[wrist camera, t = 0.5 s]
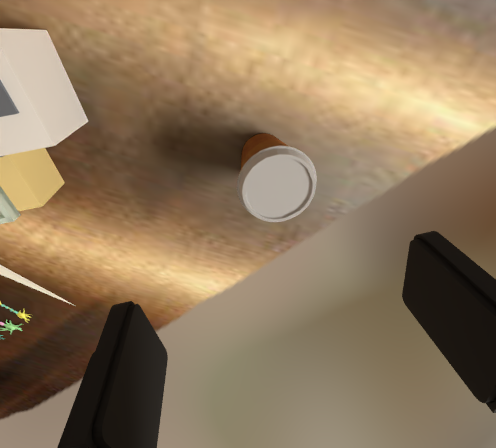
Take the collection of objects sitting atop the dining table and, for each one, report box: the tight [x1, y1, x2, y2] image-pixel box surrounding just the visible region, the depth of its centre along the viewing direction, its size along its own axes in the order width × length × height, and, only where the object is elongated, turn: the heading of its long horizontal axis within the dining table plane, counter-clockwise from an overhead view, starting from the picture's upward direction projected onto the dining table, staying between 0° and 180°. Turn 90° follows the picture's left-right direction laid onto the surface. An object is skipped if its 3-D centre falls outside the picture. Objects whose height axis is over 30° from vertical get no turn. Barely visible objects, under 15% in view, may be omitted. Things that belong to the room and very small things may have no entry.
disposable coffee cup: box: [237, 133, 316, 222], centre depth 38 cm, size 10×10×12 cm
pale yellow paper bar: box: [0, 148, 64, 211], centre depth 35 cm, size 12×3×7 cm, turn 9°
